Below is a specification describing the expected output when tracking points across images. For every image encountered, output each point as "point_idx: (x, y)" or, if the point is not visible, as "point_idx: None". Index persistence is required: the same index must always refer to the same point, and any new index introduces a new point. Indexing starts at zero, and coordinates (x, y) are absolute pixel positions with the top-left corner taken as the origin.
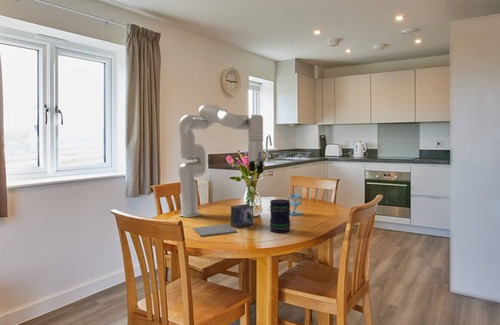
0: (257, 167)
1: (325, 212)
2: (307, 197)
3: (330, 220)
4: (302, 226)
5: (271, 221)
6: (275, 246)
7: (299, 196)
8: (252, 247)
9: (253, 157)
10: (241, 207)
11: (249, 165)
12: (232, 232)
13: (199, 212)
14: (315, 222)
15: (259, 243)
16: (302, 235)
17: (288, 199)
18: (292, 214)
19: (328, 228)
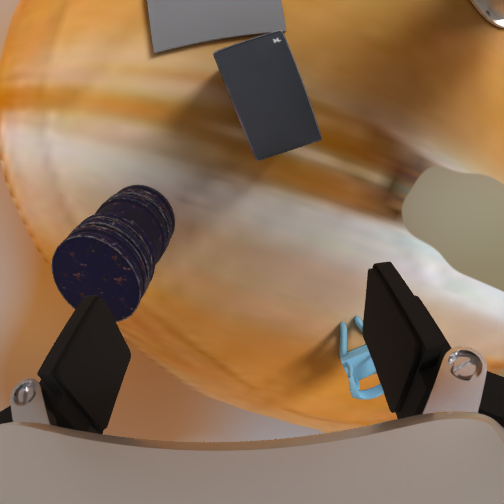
0: (56, 346)
1: (331, 401)
2: None
3: (237, 386)
4: (185, 305)
5: (114, 199)
6: (4, 162)
7: (353, 396)
8: (4, 100)
9: (6, 493)
10: (232, 82)
11: (420, 320)
12: (152, 36)
13: (497, 23)
14: (226, 352)
15: (26, 122)
16: None
17: None
18: (341, 329)
19: (151, 351)
